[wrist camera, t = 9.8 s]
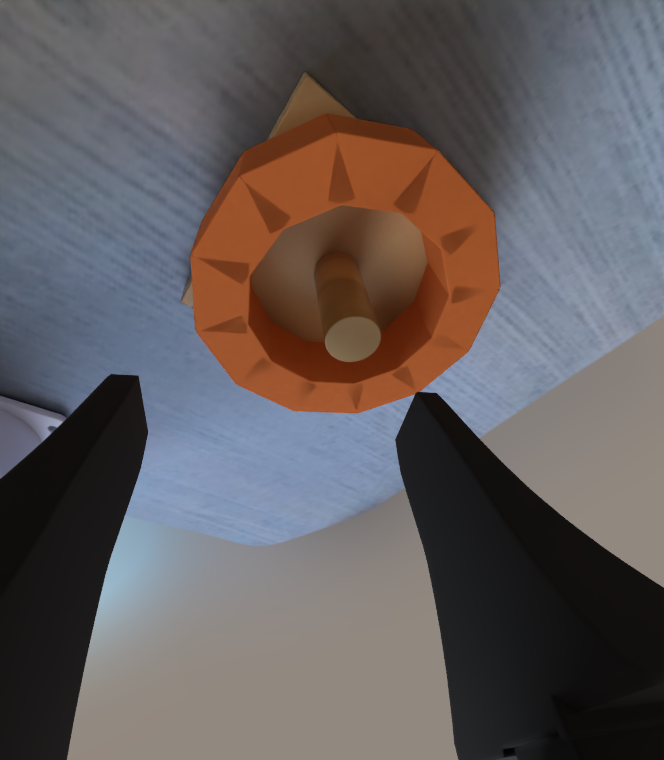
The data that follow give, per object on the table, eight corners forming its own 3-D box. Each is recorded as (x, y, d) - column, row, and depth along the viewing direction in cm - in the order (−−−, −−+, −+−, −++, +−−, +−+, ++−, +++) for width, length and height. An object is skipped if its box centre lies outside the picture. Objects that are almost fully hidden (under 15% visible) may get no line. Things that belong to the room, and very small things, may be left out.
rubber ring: (208, 365, 20) (200, 408, 18) (195, 88, 13) (179, 103, 11) (421, 377, 23) (437, 416, 20) (517, 148, 15) (559, 170, 13)
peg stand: (349, 372, 23) (368, 458, 19) (183, 288, 19) (155, 376, 14) (483, 232, 18) (553, 303, 14) (304, 70, 14) (321, 96, 9)
